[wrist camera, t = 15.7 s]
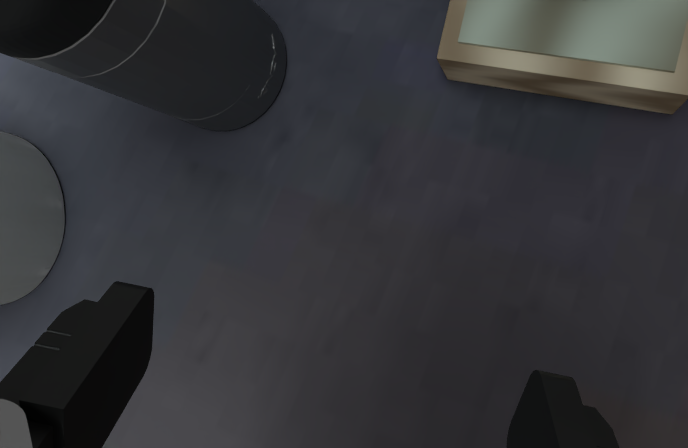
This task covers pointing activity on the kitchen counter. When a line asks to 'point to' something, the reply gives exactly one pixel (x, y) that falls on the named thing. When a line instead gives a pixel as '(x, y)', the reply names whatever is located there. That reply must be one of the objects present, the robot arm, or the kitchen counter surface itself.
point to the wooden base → (572, 49)
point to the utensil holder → (27, 217)
